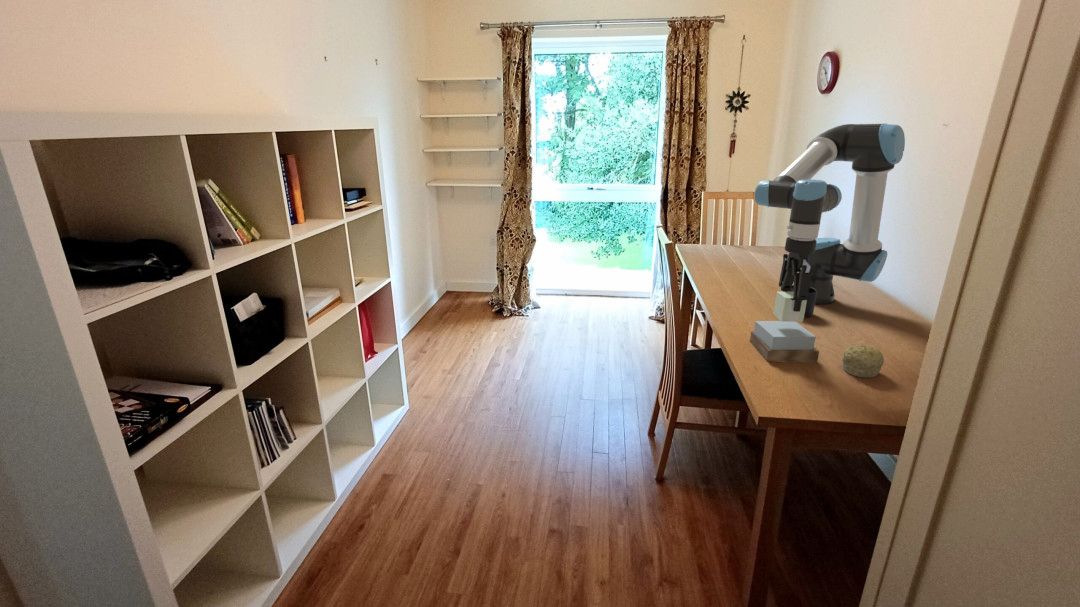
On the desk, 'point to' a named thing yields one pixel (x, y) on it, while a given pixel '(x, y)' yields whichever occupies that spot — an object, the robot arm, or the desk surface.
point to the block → (786, 306)
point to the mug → (809, 302)
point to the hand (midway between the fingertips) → (788, 316)
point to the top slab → (784, 335)
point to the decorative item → (862, 360)
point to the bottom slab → (783, 353)
